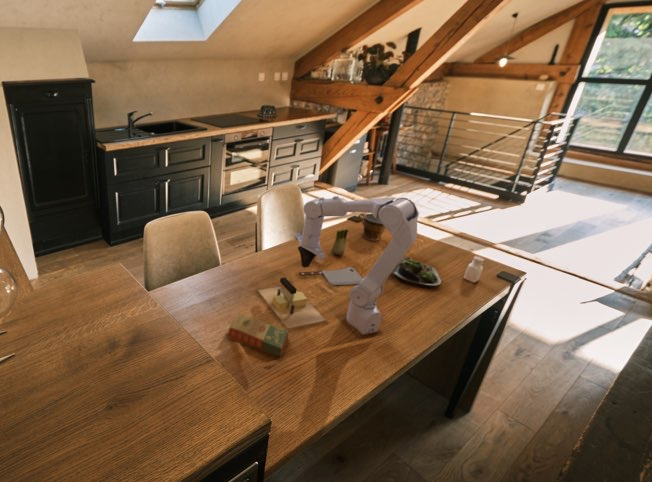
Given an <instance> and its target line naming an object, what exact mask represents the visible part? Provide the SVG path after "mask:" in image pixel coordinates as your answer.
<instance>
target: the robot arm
mask: <svg viewBox="0 0 652 482" xmlns="http://www.w3.org/2000/svg"><path fill="white" fill-rule="evenodd" d="M303 213H304V215H305V216H304V222H303V223H304V224H303V228H302V234H301V233H295V234H294V240H296V241H298V243H299V246H298V247H297V249H298V252H299V255H300V263H301V267H303V268H304V269H305V268H309V267H310V266H311V263H312V261H314V259H315V258H316V257H317V260H319V261H320V260H325V257H326V253H324V251H323V249H322V247H321V242H320V240H321V239H320V238H321V234H322V228H323V224H324V219H325V217H345V216H346V215H347V214H348V213H370V214H373V216H374V217H375V218H376V219H377V218H379V219H380V221H381V222H382V224H383V225H384V226H385V227H386V228H385V230H387V232H388V233H389V234H390V235H391V237H392V238H391V239H390V242H389V243H388V244H387V246H386V247H385V249H384V250H383V251H382V253H381V254H380V256H379V257H378V258H377V260H376V261H375V263H374V264H373V265H372V267H371V269H370V270H369V271H368V273H367V274H366V275H365V276H364V277H363V280H362V281H361V282H360V283H359V284H356V285H355V286H353V287H351V288H350V290H349V292H348V296H349V299H350V301H349V305H348V309H347V313H346V318H345V320H346V321H347V323H348V324H349V325H350V326H351V327H353V328H355V329H356V330H357V331H358V332H359V333H360V334H361V335H362V336H364V335H367V334H372V333H376V332H379V330H380V327H381V323H382V319H383V314H382V313H381V311H379V309H378V307H377V303H378V301H377V299H378V297H379V296H381V295H382V294H383V292H384V286H385V285H386V280H387V279H388V278H389V277H390V276H391V274H392V273H391V272H392V271H393V270H394V268H395V267H396V266H397V264H398V263H399V262H400V261H401V259H402V260H403V259H404V258H405V255H406V254H407V252H408V251H409V250H410V249H411V247H412V246H413V245H414V243H415V242H416V241H417V239H418V238H417V237H418V219H419V215H420V212H419V210H418V208H417V205H416V204H415V203H414V201H413V200H412V199H410V198H408V197H398V198H396V197H378V198H368V199H367V198H366V199H358V200H349V201H348V200H347V199H346V198H344V197H339V195H335V196H332V197H331V198H325V197H317V198H314V199H312V200H310V201H307V202H306V203H305V204H304V205H303Z"/></svg>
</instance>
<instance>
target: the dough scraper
mask: <svg viewBox="0 0 652 482" xmlns="http://www.w3.org/2000/svg"><path fill="white" fill-rule="evenodd" d="M279 283H280V286H281V289H280V292H281V293H282V294H283V295H284V296H285V297H286V299H287V300H288V301H289V302H290V303H291V304H292V303H293V297H294V294H296V291H297V290H298V289H297V288H296V287H295V286H294V285H293V283H291V282H290V281H289V279H288V278H287V277H286V276H284V277H280V279H279Z"/></svg>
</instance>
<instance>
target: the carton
mask: <svg viewBox="0 0 652 482" xmlns="http://www.w3.org/2000/svg"><path fill="white" fill-rule="evenodd" d="M227 336H228V339H231V340H233V341H236V342H238V343H240V342H242V343H244V344H247V345H249V346H253V347H255V348H257V349H260V350H263V351H264V352H267V353H270V354H271V355H274V356H277V357H278V358H279V357H280V358H281V357H282V356H283V352H284V349H285V347H286V344H287V342H288V337H289V331H288V330H286V329H284V328H281V327H279V326H275V325H272V324H269V323H266V322H264V321H261V320H259V319H256V318H253V317H251V316H248V315H246V314H243V313H240V312H239V313H237V315H236V316H235V319H233V322H232V323H231V325H230V327H229V328H228V335H227Z"/></svg>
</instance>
